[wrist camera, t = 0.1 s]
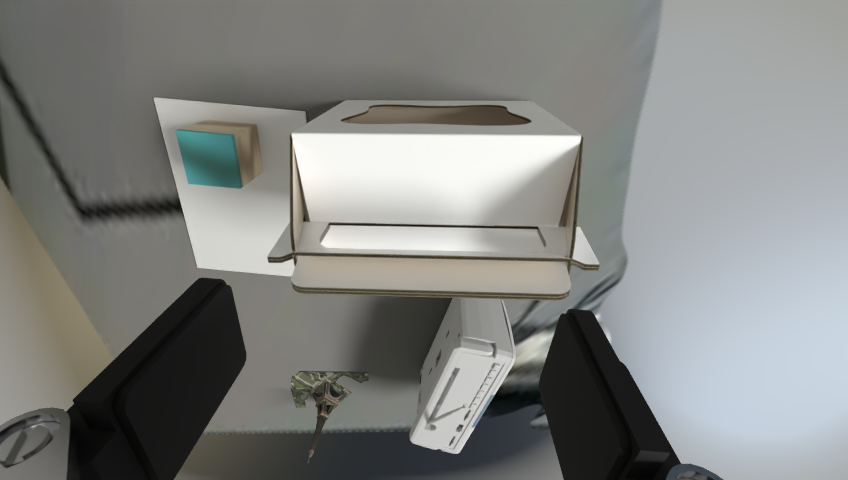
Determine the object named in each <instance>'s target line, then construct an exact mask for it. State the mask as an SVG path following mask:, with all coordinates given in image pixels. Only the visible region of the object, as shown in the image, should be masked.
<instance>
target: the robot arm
mask: <svg viewBox="0 0 848 480" xmlns="http://www.w3.org/2000/svg"><path fill="white" fill-rule="evenodd" d="M245 361H246V350H245V346H244V341H243V337H242V333H241V328H240V324H239V319H238V315H237V310H236V306H235V302H234V297H233V293H232V289H231V287H230V286H229V285H226V282H225V281H224V280H222V279H212V278H199V279H198V280H196V281H195V282H194V283H193V284H192V285H191V286H190V287H189V288H188V289H187V290H186V291H185V292H184V293H183V294H182V295H181V296H180V297H179V298H178V299H177V300H176V301H175V302H174V303H173V304H172V305H171V306H169V307H168V308H167V309H166V310H165V311H164V312H163V313H162V314H161V315H160V316H159V317H158V318H157V319H156V320H155V321H154V322H153V323H152V324H151V325H150V326H149V327H148V328H147V329H146V330H145V331H144V332H143V333H141V334H140V335H139V336H138V337H137V338H136V339H135V340H134V341H133V342H132V343H131V344H130V345H129V346H128V347H127V348H126V349H125V350H124V351H123V352H122V353H121V354H120V355H119V356H118V357H117V358H116V359H115V360H113V362H111V363H110V364H109V365H108V366H107V367H106V368H105V369H104V370H103V371H102V372H101V373H100V374H99V375H98V376H97V377H96V378H95V379H94V380H93V381H92V382H91V383H90V384H89V385H88V386H87V387H86V388H84V389H83V390H82V391H81V392H80V393H79V394H78V395H77V396H76V397H75V398H74V399H73V402H74V405H73V406H72V407H70V408H69V409H68V411H64V410H63V409H58V408H43V409H38V410H34V411H31V412H27V413H24V414H22V415H20V416H18V417H15V418H13V419H11V420H9V421H7V422H5V423H4V424H2V425H0V480H174V478H175V477H176V475H177V473H178V472H179V470H180V469H181V467H182V465H183V464H184V462H185V460H186V459H187V457H188V455H189V454H190V452H191V451H192V449H193V447H194V446H195V444H196V443H197V441H198V439H199V438H200V436H201V435H202V433H203V431H204V430H205V428H206V426H207V425H208V423H209V422H210V420H211V418H212V417H213V415H214V413H215V412H216V410H217V409H218V407H219V405H220V404H221V402H222V400H223V399H224V397H225V396H226V394H227V392H228V391H229V389H230V388H231V386H232V384H233V383H234V381H235V379H236V378H237V376H238V375H239V373H240V371H241V370H242V368H243V366H244V364H245ZM539 390H540V394H541V398H542V402H543V405H544V409H545V413H546V416H547V420H548V424H549V427H550V431H551V434H552V438H553V442H554V445H555V449H556V453H557V456H558V460H559V464H560V467H561V471H562V475H563V478H564V480H723V479H722V478H720V477H719V476H718V475H716V474H714V473H712V472H711V471H709V470H707V469H705V468H703V467H699V466H696V465H693V464H681V463H680V461H679V459H678V457H677V456H676V454H675V452H674V450H673V449H672V447H671V445H670V443H669V442H668V440H667V438H666V436H665V434H664V433H663V431H662V429H661V427H660V425H659V424H658V422H657V421H656V418H655V417H654V415H653V413H652V411H651V410H650V408H649V406H648V404H647V403H646V401H645V399H644V397H643V395H642V394H641V392H640V390H639V388H638V387H637V385H636V383H635V381H634V380H633V378H632V376H631V374H630V372H629V370H628V369H627V367H626V366H625V365H624V364H623V363H622V362H620V361H619V359H618V357H617V355H616V354H615V352H614V350H613V348H612V346H611V345H610V343H609V341H608V339H607V337H606V335H605V334H604V332H603V330H602V328H601V326H600V325H599V323H598V321H597V319H596V317H595V316H594V314H593V313H592V312H591V311H588V310H577V309H569V310H568V311H567V313H566V314H561V315H560V317H559V321H558V324H557V327H556V330H555V333H554V336H553V339H552V342H551V346H550V349H549V352H548V355H547V358H546V361H545V364H544V367H543V371H542V374H541V377H540V381H539Z"/></svg>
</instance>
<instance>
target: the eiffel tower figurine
mask: <svg viewBox="0 0 848 480" xmlns="http://www.w3.org/2000/svg"><path fill="white" fill-rule="evenodd" d="M343 375H345V376H347V377H350V378H353V379H354V380H356V381H358V382H360V383H362V382H364V381H368V375H367V372H362V373H358V372H307V371H299V372H298V373H297V374H296V375H294V376H292V379H291V383H292V384H291V391H292V394H293V397H294V401H295V404H296V407H297V408H301V407H306V405H305V401H306V399H307V396H308V394H309V393H312V395H313V397H314V399H315V401H316V407H317V409H318V416H317V418H318V419H317V425H316V430H315V434H314V438H313V442H312V446H311V450H310V452H309V458H310V457H311V456H312V455H313V451H314V448H315V446H316V443H317V440H318V438H319V435H320V433H321V430H322V428H323V426H324V423H325V421H326V420H327V419H328V416H329V414H330V413H331V411H332V410H333V409H334V408H336V407H337V405H338V403H339V402H340V401H342V400H343V399H344V398H345V397H347V396H348V395H349V394H350V393H351V392H350V391H348V390H347V389H345V388H343V387H342V386H340V385H338V384H337V383H336V381H337V379H338V378H339V377H341V376H343ZM327 403H328V404H329V405H327Z"/></svg>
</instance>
